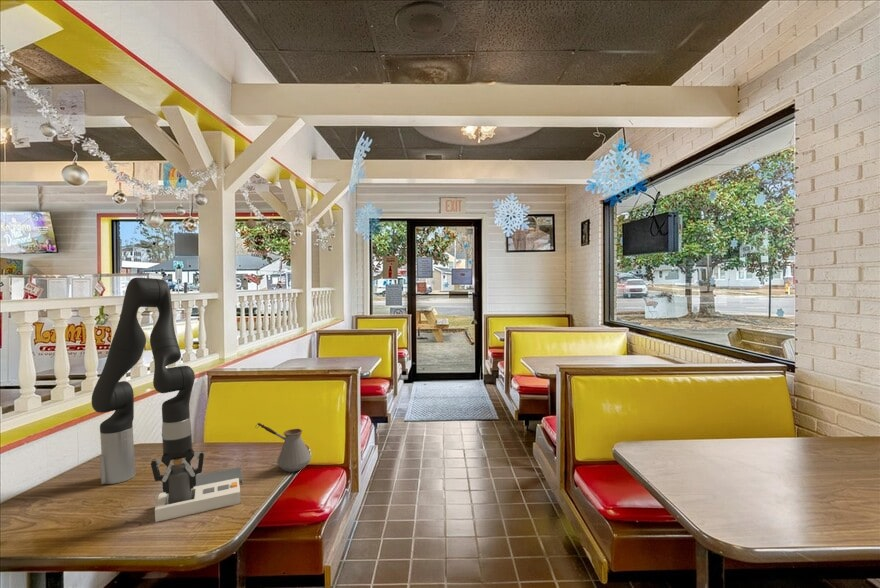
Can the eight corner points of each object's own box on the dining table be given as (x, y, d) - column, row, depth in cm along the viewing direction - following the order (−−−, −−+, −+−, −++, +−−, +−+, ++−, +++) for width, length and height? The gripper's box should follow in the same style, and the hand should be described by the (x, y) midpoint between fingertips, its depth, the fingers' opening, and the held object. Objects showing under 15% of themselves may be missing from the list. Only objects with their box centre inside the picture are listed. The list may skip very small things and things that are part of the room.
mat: (194, 493, 146) (194, 489, 146) (196, 478, 157) (195, 475, 157) (242, 483, 152) (241, 480, 152) (240, 470, 163) (240, 466, 163)
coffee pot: (317, 462, 168) (315, 421, 167) (298, 475, 157) (296, 432, 157) (269, 456, 175) (267, 417, 174) (247, 469, 164) (245, 427, 163)
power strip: (155, 522, 129) (154, 507, 129) (160, 504, 139) (159, 491, 139) (240, 503, 139) (240, 489, 139) (239, 488, 149) (238, 476, 149)
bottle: (182, 512, 134) (179, 461, 133) (164, 511, 135) (161, 460, 134) (196, 502, 139) (194, 453, 139) (179, 501, 140) (177, 452, 140)
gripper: (204, 426, 143) (207, 480, 143) (150, 434, 136) (153, 490, 137) (204, 434, 136) (206, 490, 136) (146, 442, 130) (149, 501, 130)
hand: (179, 490), depth 137 cm, fingers closed on bottle, 6 cm apart
